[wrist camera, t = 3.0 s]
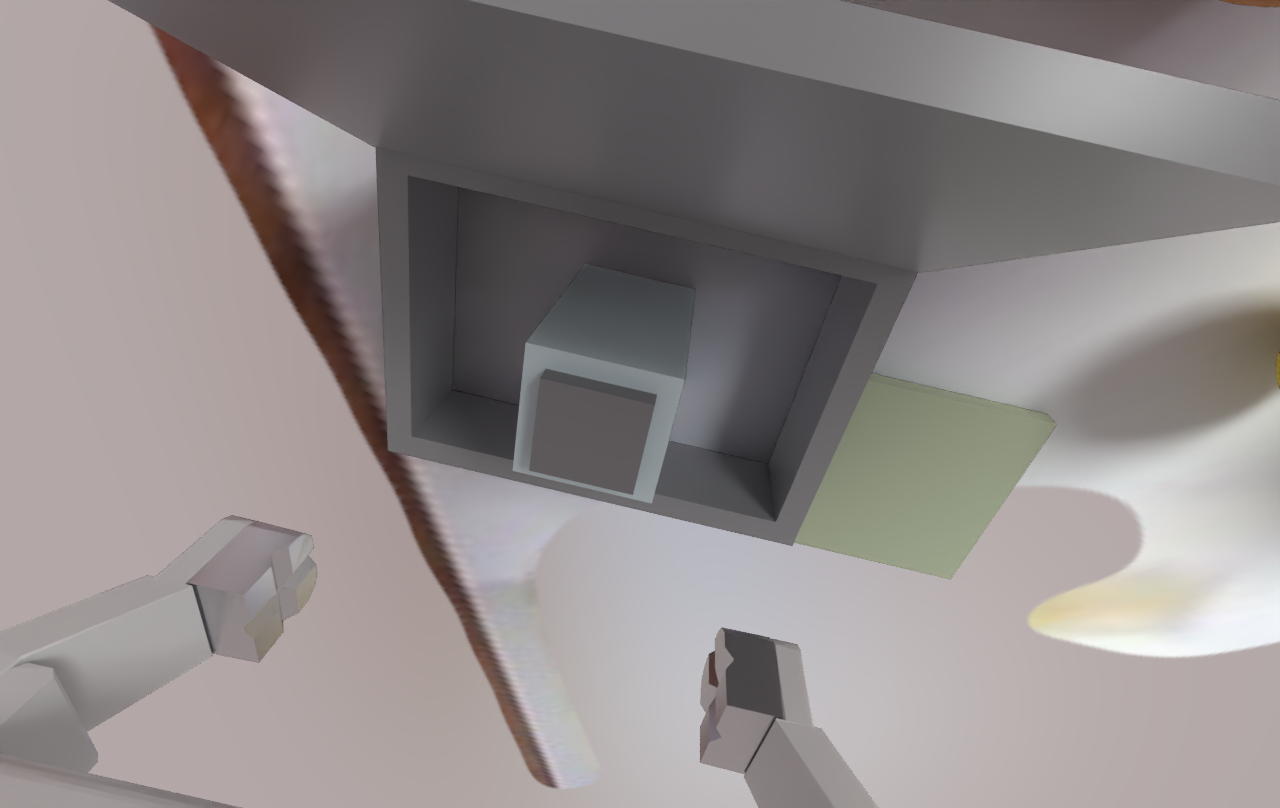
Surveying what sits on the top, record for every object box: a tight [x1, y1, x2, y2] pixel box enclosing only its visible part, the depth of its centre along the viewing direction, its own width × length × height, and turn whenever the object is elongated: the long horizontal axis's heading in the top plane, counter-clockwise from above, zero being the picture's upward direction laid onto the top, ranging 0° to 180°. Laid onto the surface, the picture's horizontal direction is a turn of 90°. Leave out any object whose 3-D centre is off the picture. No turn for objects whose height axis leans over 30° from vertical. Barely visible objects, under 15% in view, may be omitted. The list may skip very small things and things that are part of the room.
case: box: [109, 0, 1280, 546], centre depth 16 cm, size 17×16×14 cm
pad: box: [794, 373, 1057, 579], centre depth 25 cm, size 9×9×1 cm
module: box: [513, 264, 695, 504], centre depth 20 cm, size 4×4×9 cm
